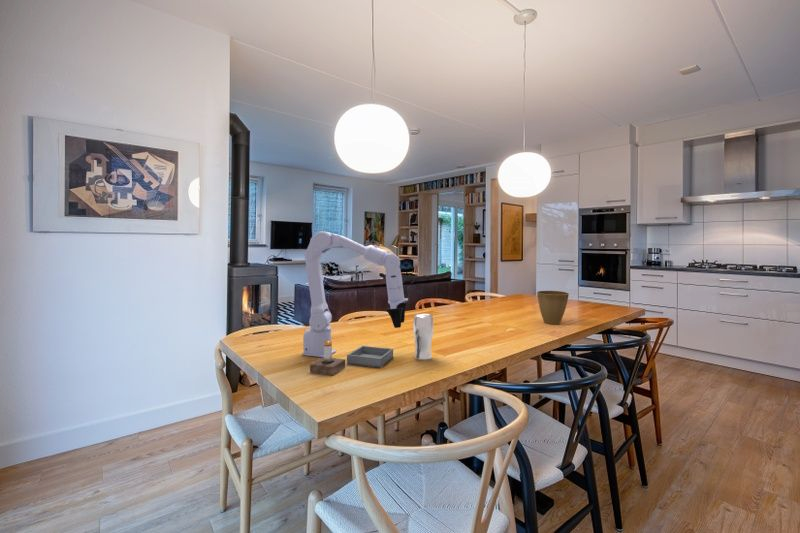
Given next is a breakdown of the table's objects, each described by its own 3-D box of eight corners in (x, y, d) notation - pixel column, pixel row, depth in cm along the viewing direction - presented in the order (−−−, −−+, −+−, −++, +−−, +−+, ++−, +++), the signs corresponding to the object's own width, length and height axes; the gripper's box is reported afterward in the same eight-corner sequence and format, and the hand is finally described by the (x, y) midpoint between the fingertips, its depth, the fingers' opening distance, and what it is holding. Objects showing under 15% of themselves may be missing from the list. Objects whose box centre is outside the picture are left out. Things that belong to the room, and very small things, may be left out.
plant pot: (532, 320, 193) (533, 290, 192) (561, 320, 191) (562, 290, 191) (540, 326, 178) (541, 293, 177) (572, 326, 177) (573, 294, 176)
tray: (346, 363, 119) (346, 354, 119) (362, 353, 131) (362, 345, 131) (380, 368, 115) (380, 358, 115) (393, 357, 127) (393, 348, 127)
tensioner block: (310, 372, 111) (309, 364, 111) (323, 364, 119) (323, 356, 119) (332, 375, 109) (332, 367, 109) (345, 367, 116) (345, 359, 116)
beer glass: (427, 362, 122) (427, 318, 121) (409, 358, 125) (409, 315, 124) (436, 356, 128) (436, 314, 127) (419, 353, 131) (419, 312, 130)
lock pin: (322, 370, 113) (322, 342, 112) (326, 368, 115) (326, 340, 115) (329, 371, 112) (329, 342, 112) (333, 368, 114) (333, 340, 114)
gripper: (402, 289, 121) (407, 328, 122) (408, 284, 135) (413, 319, 136) (382, 291, 122) (387, 330, 123) (390, 285, 137) (394, 321, 137)
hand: (399, 325), depth 130 cm, fingers open, 7 cm apart
